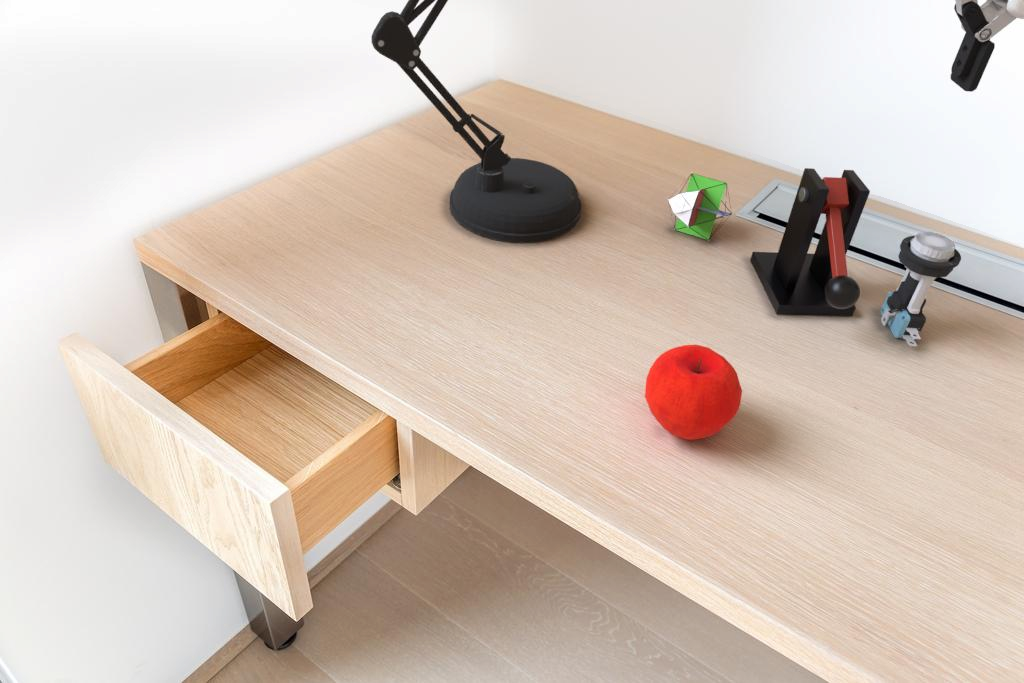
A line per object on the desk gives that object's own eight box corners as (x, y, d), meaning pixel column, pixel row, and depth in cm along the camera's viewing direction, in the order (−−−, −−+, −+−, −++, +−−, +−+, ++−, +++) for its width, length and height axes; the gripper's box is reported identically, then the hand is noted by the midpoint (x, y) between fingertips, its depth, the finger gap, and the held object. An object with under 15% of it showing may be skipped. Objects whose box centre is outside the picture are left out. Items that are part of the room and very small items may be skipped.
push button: (937, 352, 78) (981, 266, 71) (883, 348, 78) (923, 262, 71) (912, 311, 83) (951, 228, 77) (862, 308, 83) (897, 224, 77)
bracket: (852, 316, 82) (898, 206, 74) (776, 314, 81) (813, 203, 73) (819, 262, 89) (857, 157, 81) (749, 260, 89) (781, 154, 81)
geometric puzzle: (684, 188, 97) (681, 154, 89) (739, 204, 94) (741, 170, 87) (662, 239, 95) (657, 209, 88) (717, 257, 93) (717, 227, 86)
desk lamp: (648, 185, 101) (731, -255, 73) (586, 290, 82) (667, -251, 54) (473, 144, 107) (487, -277, 79) (378, 233, 88) (352, -280, 60)
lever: (851, 313, 77) (868, 303, 74) (819, 312, 77) (835, 302, 74) (837, 190, 80) (853, 175, 77) (806, 189, 80) (821, 174, 77)
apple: (628, 392, 70) (642, 326, 66) (715, 391, 71) (735, 326, 67) (646, 459, 64) (663, 392, 60) (741, 458, 65) (765, 391, 60)
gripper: (1205, -150, 59) (1087, 76, 70) (984, -165, 58) (899, 67, 69) (1285, -133, 54) (1143, 110, 64) (1041, -150, 52) (938, 101, 63)
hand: (1017, 88), depth 67 cm, fingers open, 9 cm apart
